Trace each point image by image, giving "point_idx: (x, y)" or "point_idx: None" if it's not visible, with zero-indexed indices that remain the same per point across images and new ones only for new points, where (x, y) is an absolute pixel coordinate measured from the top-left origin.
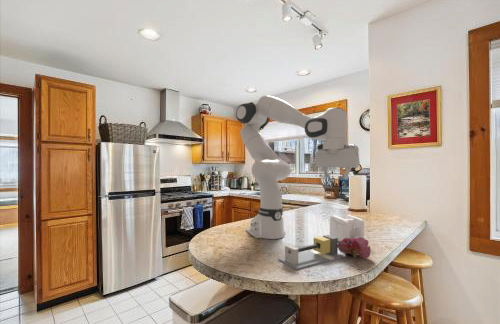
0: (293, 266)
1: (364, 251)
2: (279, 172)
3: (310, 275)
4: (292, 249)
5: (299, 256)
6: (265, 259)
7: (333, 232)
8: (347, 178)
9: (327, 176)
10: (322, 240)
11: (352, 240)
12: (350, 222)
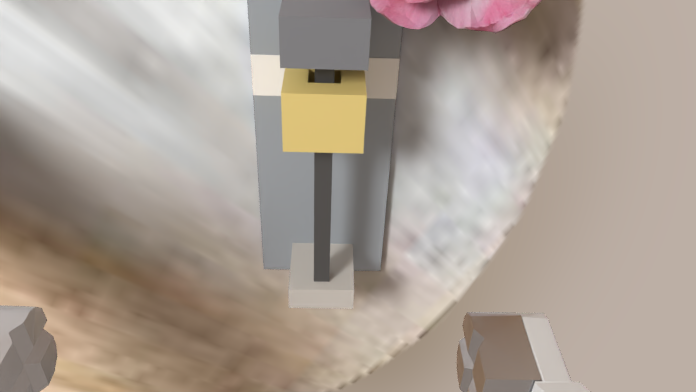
0: (360, 270)
1: None
2: None
3: (441, 256)
4: (341, 307)
5: (288, 188)
6: (233, 295)
7: None
8: (537, 322)
9: (46, 364)
10: (355, 151)
11: (498, 30)
12: None
